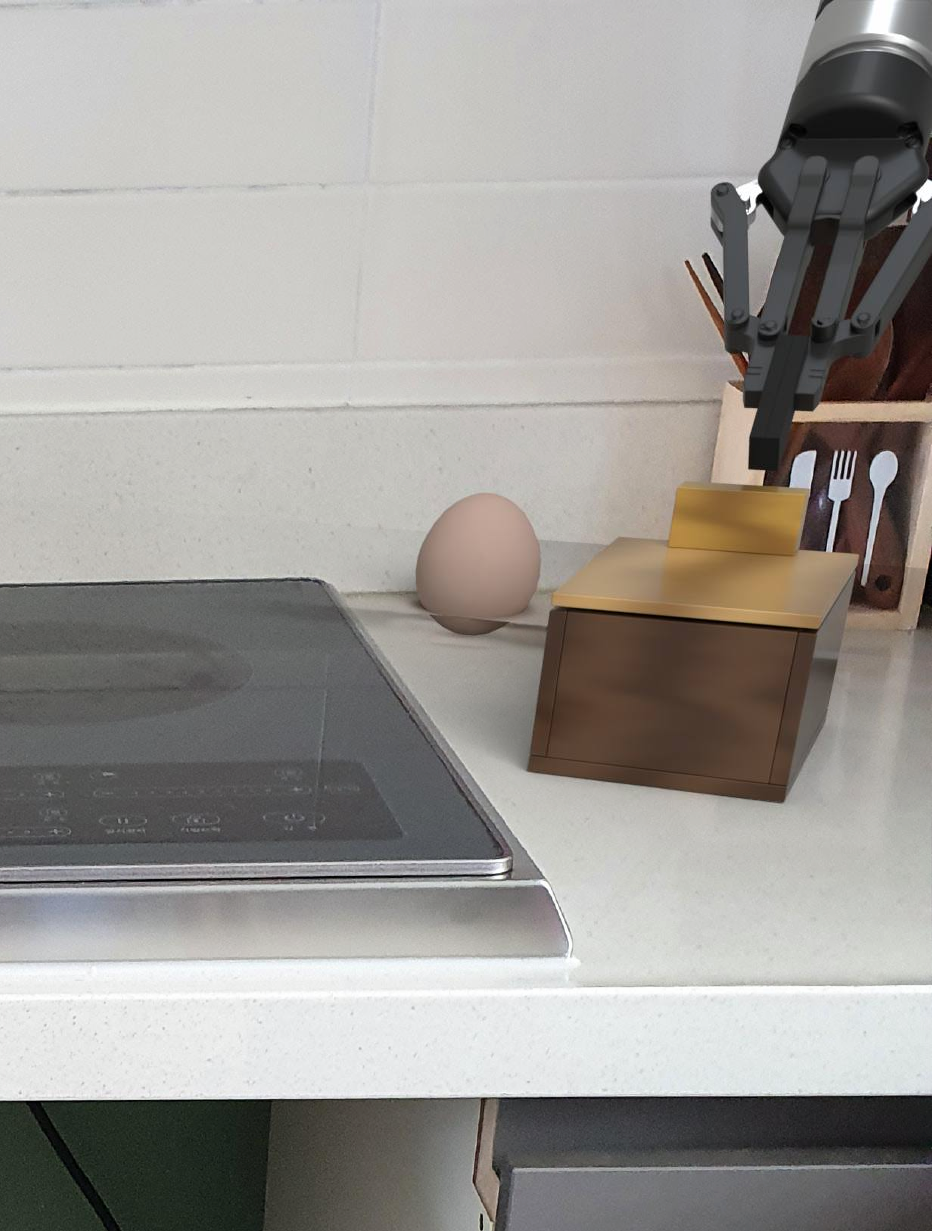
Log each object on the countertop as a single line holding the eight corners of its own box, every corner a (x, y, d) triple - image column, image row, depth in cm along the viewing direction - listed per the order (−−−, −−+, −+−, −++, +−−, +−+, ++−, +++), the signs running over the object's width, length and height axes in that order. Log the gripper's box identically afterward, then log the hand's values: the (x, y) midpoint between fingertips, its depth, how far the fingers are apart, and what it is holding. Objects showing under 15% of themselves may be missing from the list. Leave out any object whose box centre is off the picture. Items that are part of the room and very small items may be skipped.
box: (825, 722, 109) (856, 570, 105) (784, 803, 97) (817, 634, 93) (593, 697, 114) (615, 551, 111) (526, 771, 102) (549, 610, 99)
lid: (857, 566, 105) (872, 492, 104) (818, 629, 93) (834, 547, 92) (616, 547, 111) (626, 477, 109) (550, 605, 99) (561, 527, 97)
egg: (537, 625, 130) (556, 486, 126) (524, 651, 124) (543, 506, 120) (418, 617, 132) (434, 480, 129) (399, 642, 126) (415, 500, 123)
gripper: (990, 148, 116) (894, 506, 111) (738, 149, 122) (635, 490, 117) (1007, 38, 110) (906, 414, 104) (740, 46, 116) (632, 401, 110)
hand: (763, 453), depth 110 cm, fingers closed
